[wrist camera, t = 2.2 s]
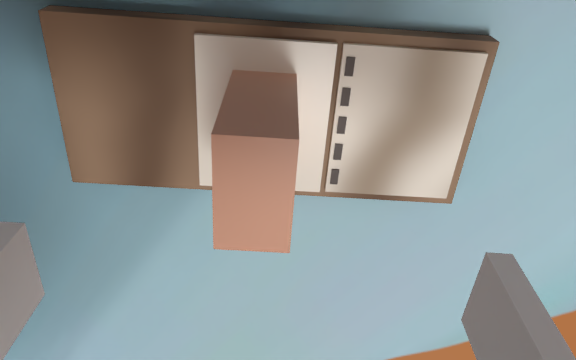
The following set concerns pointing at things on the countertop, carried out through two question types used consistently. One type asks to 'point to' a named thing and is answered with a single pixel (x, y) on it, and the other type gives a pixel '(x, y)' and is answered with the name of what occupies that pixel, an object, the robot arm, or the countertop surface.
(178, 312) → the countertop surface
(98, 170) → the board
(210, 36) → the stub
